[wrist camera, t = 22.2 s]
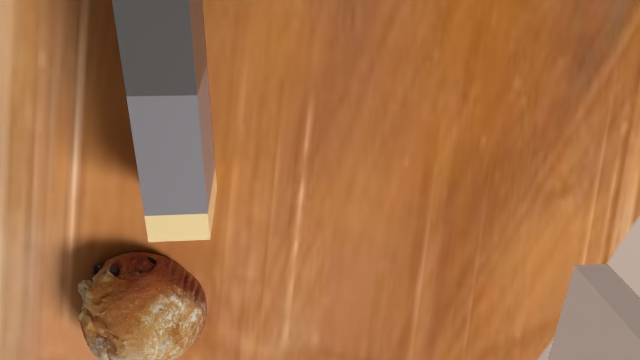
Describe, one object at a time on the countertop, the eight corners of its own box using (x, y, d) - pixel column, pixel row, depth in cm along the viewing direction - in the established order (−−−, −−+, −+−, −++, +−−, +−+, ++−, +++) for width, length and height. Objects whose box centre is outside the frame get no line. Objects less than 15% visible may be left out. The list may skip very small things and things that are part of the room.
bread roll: (125, 314, 51) (129, 397, 46) (47, 273, 43) (42, 369, 38) (217, 274, 50) (231, 355, 45) (155, 224, 42) (164, 316, 37)
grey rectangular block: (200, -28, 35) (187, -14, 28) (216, 190, 42) (209, 239, 36) (136, -29, 34) (109, -14, 28) (164, 191, 41) (148, 241, 35)
